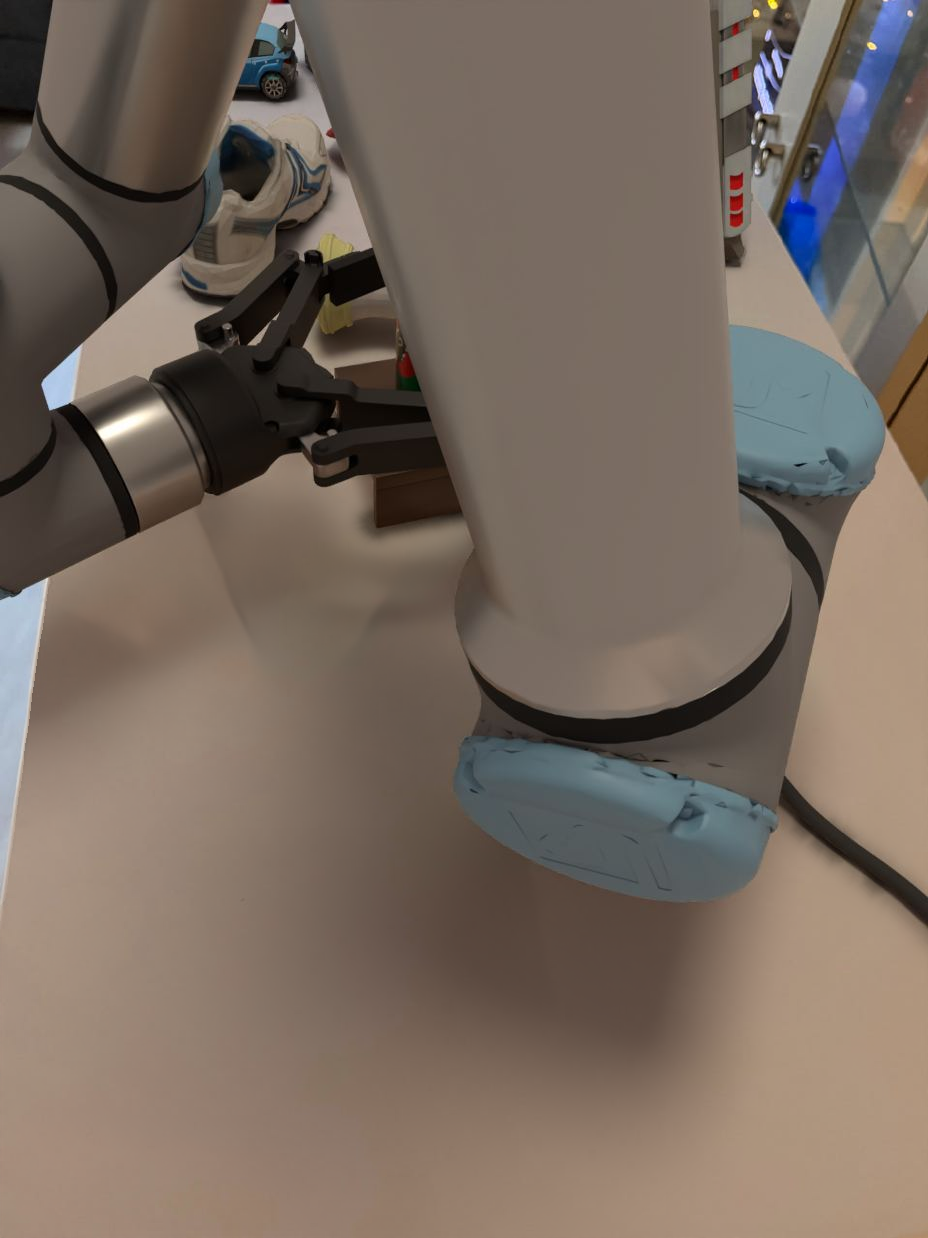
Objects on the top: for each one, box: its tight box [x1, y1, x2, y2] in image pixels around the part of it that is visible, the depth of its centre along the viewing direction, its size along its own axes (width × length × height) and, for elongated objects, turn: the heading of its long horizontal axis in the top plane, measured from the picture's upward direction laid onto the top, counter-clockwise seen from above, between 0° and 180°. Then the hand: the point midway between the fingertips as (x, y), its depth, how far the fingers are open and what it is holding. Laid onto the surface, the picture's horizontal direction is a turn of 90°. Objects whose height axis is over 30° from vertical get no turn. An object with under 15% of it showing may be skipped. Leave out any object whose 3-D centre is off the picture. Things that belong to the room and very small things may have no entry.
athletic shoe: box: [179, 113, 332, 299], centre depth 80 cm, size 10×23×12 cm, turn 174°
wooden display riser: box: [333, 357, 462, 529], centre depth 65 cm, size 11×11×8 cm
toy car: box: [236, 18, 299, 100], centre depth 96 cm, size 6×12×6 cm, turn 97°
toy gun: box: [709, 0, 754, 262], centre depth 79 cm, size 2×24×15 cm
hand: (477, 305), depth 60 cm, fingers open, 13 cm apart
